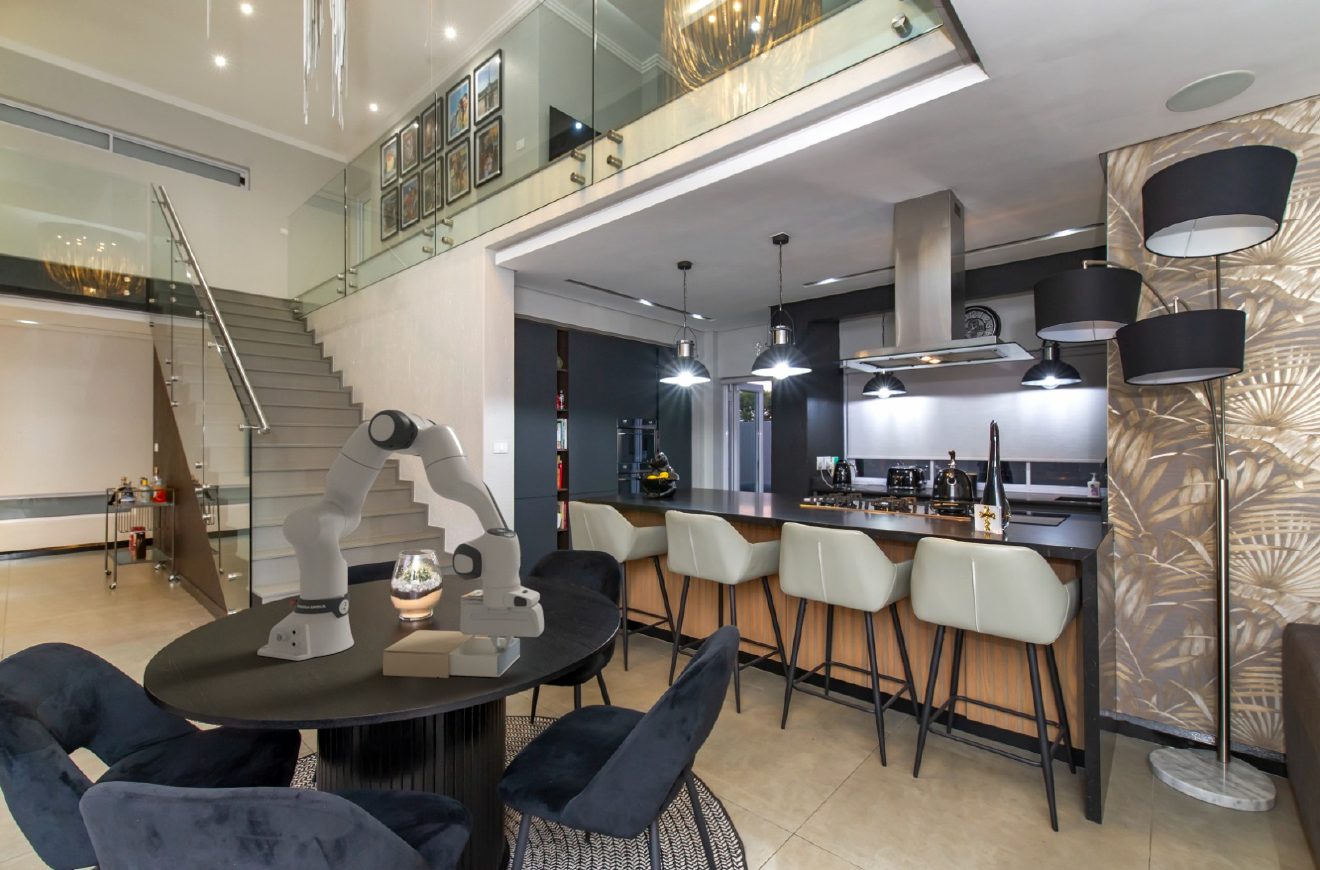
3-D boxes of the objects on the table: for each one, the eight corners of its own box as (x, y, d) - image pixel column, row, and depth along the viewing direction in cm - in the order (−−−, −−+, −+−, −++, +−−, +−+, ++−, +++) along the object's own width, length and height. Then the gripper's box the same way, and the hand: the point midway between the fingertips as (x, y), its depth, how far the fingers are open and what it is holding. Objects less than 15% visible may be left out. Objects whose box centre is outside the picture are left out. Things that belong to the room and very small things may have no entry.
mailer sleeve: (383, 675, 134) (383, 650, 134) (417, 652, 149) (417, 629, 149) (447, 677, 132) (447, 652, 132) (476, 654, 147) (476, 631, 147)
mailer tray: (437, 674, 133) (437, 654, 133) (463, 654, 146) (463, 636, 146) (499, 676, 131) (499, 657, 131) (519, 656, 144) (519, 638, 144)
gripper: (455, 598, 137) (455, 656, 136) (537, 600, 134) (538, 659, 134) (467, 591, 143) (467, 647, 143) (546, 593, 140) (546, 650, 140)
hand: (502, 653), depth 138 cm, fingers closed
